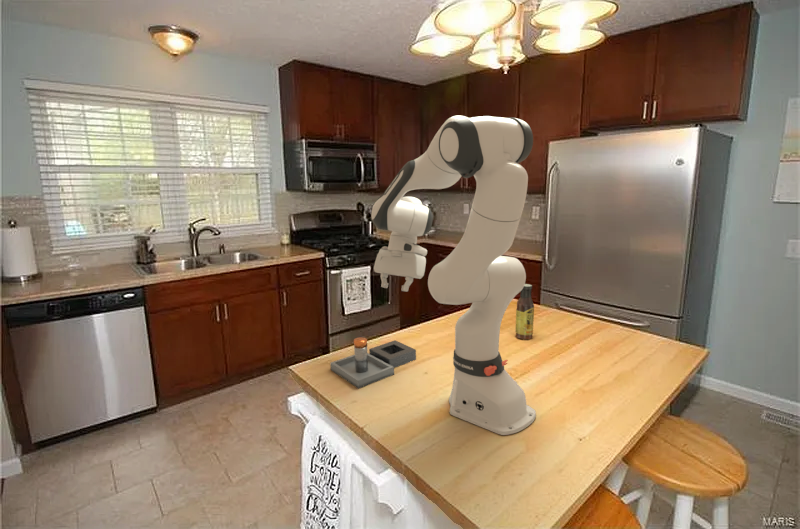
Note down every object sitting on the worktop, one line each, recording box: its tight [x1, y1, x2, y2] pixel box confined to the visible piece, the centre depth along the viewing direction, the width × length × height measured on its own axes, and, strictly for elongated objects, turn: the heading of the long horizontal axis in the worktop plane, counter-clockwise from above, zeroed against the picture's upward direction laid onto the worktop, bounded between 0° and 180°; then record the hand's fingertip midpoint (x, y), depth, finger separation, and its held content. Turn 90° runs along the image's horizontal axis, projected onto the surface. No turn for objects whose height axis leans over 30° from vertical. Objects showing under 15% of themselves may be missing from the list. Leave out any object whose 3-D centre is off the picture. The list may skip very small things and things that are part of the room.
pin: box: [353, 336, 369, 373], centre depth 126 cm, size 4×4×10 cm
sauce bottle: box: [514, 283, 535, 340], centre depth 149 cm, size 7×6×20 cm
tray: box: [329, 352, 395, 390], centre depth 127 cm, size 16×13×2 cm
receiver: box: [368, 339, 417, 369], centre depth 135 cm, size 11×11×4 cm
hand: (394, 289), depth 130 cm, fingers open, 8 cm apart
